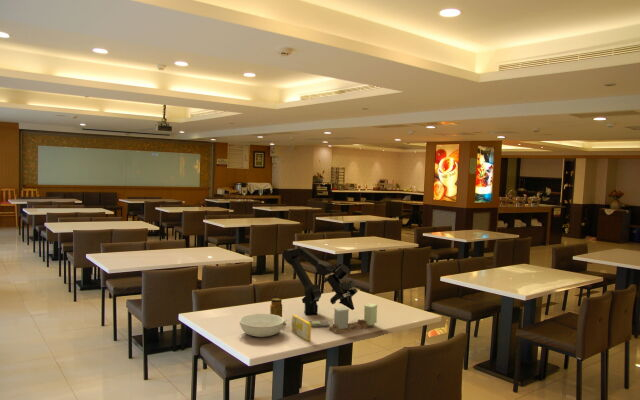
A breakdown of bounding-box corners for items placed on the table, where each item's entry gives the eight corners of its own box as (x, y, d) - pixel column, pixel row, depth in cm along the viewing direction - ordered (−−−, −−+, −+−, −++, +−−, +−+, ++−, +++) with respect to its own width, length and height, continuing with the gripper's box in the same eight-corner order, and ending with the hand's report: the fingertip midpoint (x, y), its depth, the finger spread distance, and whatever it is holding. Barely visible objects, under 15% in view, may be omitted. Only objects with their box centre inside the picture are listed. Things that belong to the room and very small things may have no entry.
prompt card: (309, 327, 240) (310, 324, 240) (307, 323, 247) (307, 320, 247) (329, 327, 242) (329, 323, 242) (327, 322, 249) (327, 319, 249)
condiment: (270, 320, 251) (270, 297, 251) (286, 320, 251) (287, 297, 251) (268, 324, 244) (269, 300, 244) (285, 324, 244) (285, 301, 244)
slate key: (333, 327, 236) (334, 308, 236) (343, 325, 239) (344, 307, 238) (338, 329, 232) (338, 310, 232) (348, 327, 235) (348, 309, 235)
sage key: (363, 323, 242) (364, 305, 242) (369, 321, 247) (369, 303, 246) (371, 325, 240) (371, 307, 239) (376, 322, 244) (377, 304, 244)
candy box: (311, 341, 221) (311, 323, 221) (307, 341, 220) (307, 323, 220) (295, 330, 235) (295, 313, 235) (291, 331, 234) (291, 314, 234)
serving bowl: (250, 344, 215) (250, 329, 215) (232, 331, 233) (232, 316, 233) (291, 336, 226) (292, 322, 226) (271, 324, 244) (271, 311, 244)
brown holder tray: (338, 334, 230) (338, 327, 230) (327, 329, 237) (327, 322, 237) (376, 325, 245) (376, 318, 245) (364, 321, 252) (365, 314, 252)
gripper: (336, 278, 243) (354, 304, 238) (355, 272, 259) (372, 297, 253) (322, 291, 248) (339, 316, 243) (342, 285, 264) (359, 309, 258)
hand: (353, 309), depth 249 cm, fingers closed
